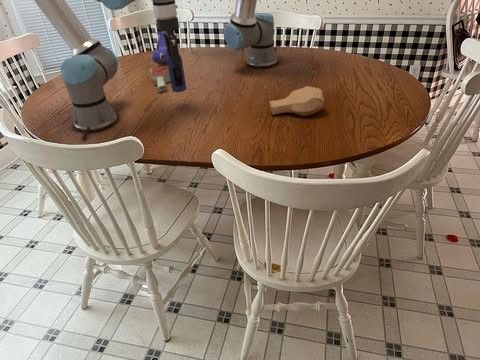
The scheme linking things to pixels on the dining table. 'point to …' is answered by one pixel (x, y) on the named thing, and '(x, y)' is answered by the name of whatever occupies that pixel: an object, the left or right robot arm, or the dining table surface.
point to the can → (172, 79)
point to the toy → (160, 50)
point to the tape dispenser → (160, 77)
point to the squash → (300, 102)
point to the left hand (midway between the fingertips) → (177, 82)
